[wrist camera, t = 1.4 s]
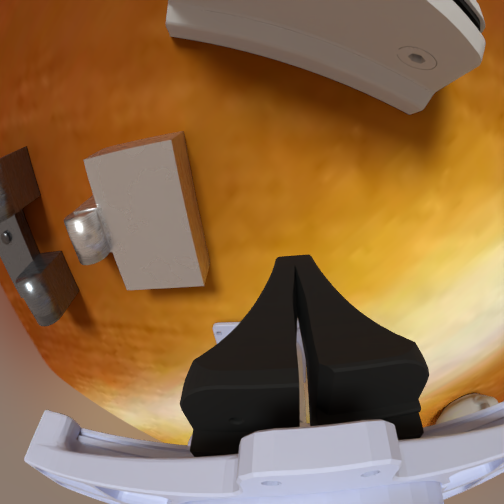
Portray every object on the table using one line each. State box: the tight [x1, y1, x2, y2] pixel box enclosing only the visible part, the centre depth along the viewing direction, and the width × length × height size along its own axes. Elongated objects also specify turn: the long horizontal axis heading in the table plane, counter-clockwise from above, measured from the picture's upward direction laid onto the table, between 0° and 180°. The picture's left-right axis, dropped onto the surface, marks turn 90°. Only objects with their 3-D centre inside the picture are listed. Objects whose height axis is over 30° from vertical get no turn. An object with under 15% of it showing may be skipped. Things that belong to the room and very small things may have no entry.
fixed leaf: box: [0, 146, 79, 326], centre depth 21 cm, size 14×8×5 cm, turn 7°
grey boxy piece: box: [64, 131, 210, 290], centre depth 20 cm, size 10×9×5 cm
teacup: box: [436, 393, 499, 424], centre depth 31 cm, size 14×11×8 cm
